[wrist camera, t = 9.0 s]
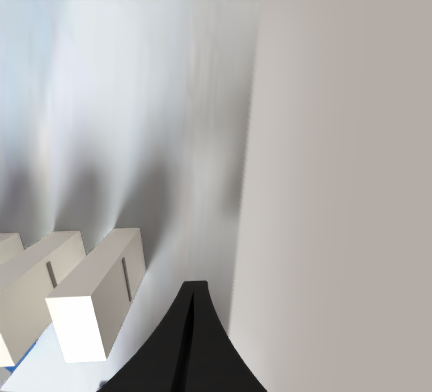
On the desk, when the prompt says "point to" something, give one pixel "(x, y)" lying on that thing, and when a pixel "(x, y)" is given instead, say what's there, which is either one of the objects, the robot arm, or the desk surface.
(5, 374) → the ink box
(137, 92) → the desk surface
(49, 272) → the domino
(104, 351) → the domino
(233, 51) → the desk surface
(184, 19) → the desk surface
